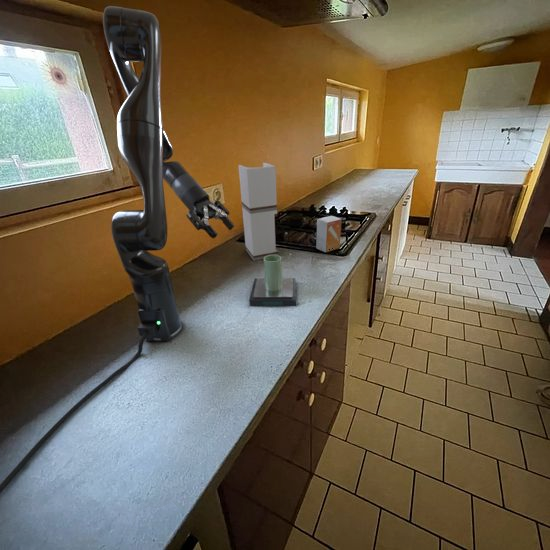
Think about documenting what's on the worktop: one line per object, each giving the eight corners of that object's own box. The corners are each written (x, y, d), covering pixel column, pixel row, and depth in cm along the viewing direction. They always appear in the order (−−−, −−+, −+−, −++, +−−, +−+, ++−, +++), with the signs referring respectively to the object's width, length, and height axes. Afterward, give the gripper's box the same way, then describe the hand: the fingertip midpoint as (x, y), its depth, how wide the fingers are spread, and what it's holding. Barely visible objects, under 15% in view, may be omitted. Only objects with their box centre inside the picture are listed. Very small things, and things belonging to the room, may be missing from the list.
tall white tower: (278, 256, 124) (275, 166, 107) (253, 260, 120) (246, 168, 104) (269, 246, 133) (265, 162, 117) (246, 250, 130) (238, 165, 114)
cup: (281, 290, 94) (281, 261, 89) (264, 291, 94) (262, 262, 89) (282, 282, 98) (281, 254, 94) (266, 282, 99) (264, 254, 94)
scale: (296, 306, 90) (296, 299, 89) (249, 306, 91) (249, 299, 90) (295, 283, 103) (295, 276, 102) (254, 283, 104) (254, 276, 103)
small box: (325, 253, 124) (327, 222, 118) (315, 248, 129) (316, 218, 123) (340, 248, 128) (342, 218, 122) (329, 244, 133) (331, 215, 127)
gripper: (178, 188, 86) (215, 232, 86) (210, 180, 97) (243, 218, 97) (168, 205, 90) (203, 247, 91) (200, 195, 101) (231, 232, 102)
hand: (224, 232), depth 94 cm, fingers open, 8 cm apart
